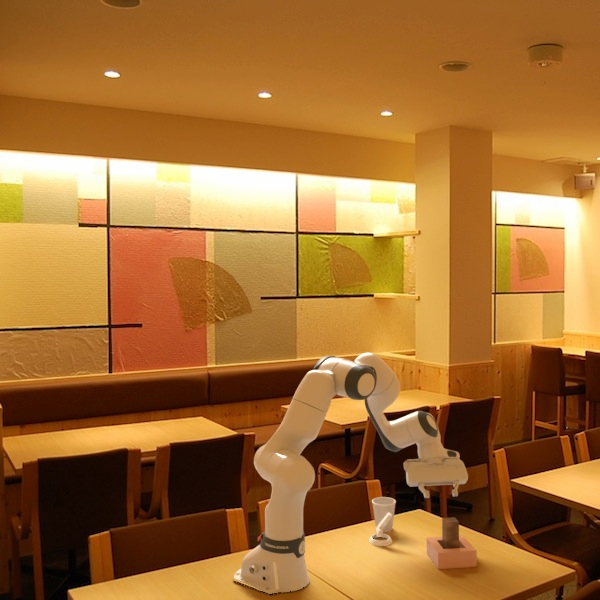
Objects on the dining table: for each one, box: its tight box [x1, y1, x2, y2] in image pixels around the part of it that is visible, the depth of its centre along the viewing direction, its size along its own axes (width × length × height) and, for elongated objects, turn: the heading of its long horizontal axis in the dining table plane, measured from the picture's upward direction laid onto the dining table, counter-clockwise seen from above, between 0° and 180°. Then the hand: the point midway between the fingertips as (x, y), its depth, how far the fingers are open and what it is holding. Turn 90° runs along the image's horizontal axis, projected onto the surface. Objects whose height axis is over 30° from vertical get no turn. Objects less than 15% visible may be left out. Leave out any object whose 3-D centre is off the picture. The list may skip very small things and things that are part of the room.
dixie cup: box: [371, 496, 397, 533], centre depth 244 cm, size 8×8×10 cm
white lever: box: [368, 513, 393, 547], centre depth 233 cm, size 8×12×7 cm
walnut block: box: [441, 516, 460, 549], centre depth 218 cm, size 4×4×12 cm
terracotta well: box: [426, 535, 478, 570], centre depth 218 cm, size 12×12×5 cm
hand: (441, 496), depth 227 cm, fingers open, 8 cm apart
